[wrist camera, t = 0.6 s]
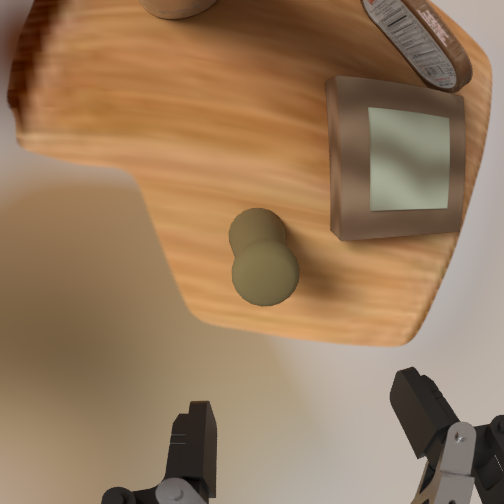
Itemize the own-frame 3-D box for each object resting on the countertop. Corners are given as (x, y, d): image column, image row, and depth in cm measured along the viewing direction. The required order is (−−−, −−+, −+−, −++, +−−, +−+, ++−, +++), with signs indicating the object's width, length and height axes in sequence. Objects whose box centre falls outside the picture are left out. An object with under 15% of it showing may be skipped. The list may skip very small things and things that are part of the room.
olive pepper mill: (245, 271, 33) (250, 330, 23) (218, 225, 31) (209, 268, 20) (294, 246, 32) (321, 296, 22) (269, 197, 30) (287, 228, 20)
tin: (442, 86, 26) (488, 81, 18) (429, 99, 26) (476, 95, 18) (361, -10, 21) (392, -40, 13) (344, 0, 22) (374, -32, 14)
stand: (324, 82, 26) (337, 74, 22) (445, 98, 26) (465, 96, 22) (330, 230, 32) (342, 242, 28) (443, 222, 32) (461, 232, 28)
